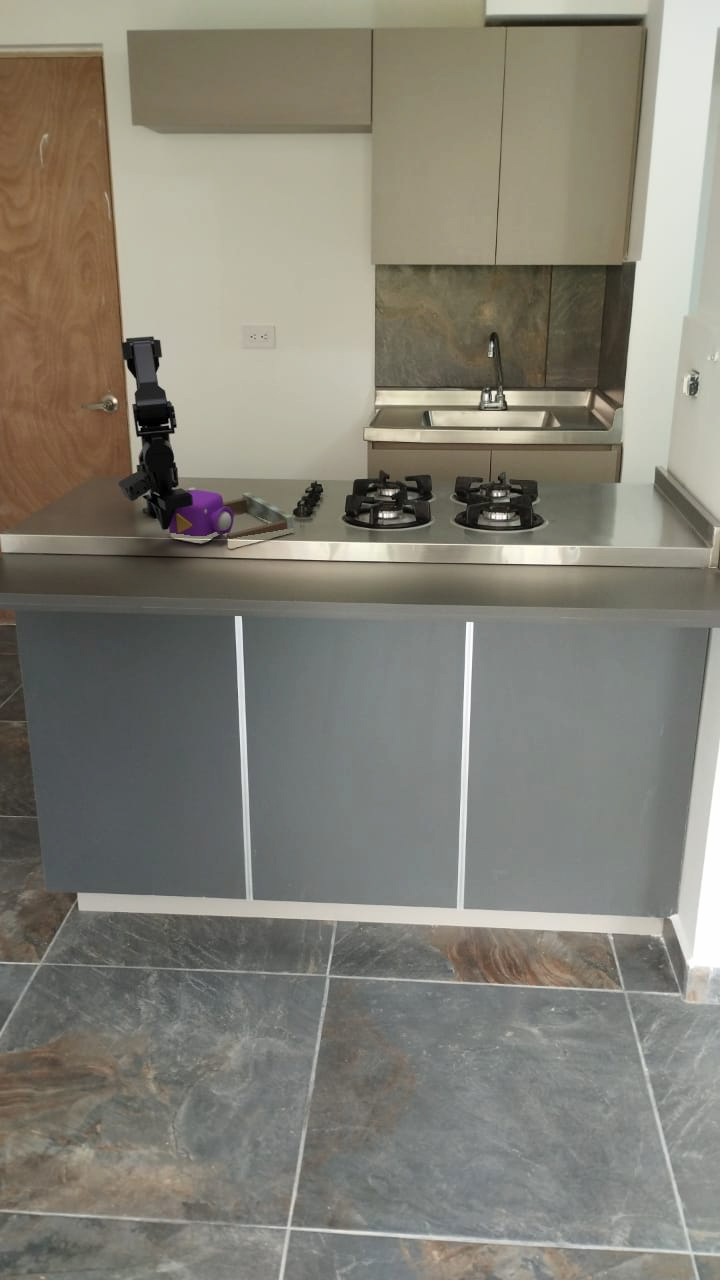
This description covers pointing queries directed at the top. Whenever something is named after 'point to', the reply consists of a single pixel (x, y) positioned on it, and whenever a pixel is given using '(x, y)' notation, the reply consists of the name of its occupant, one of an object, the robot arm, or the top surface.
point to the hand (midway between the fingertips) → (165, 529)
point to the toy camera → (202, 515)
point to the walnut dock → (259, 515)
